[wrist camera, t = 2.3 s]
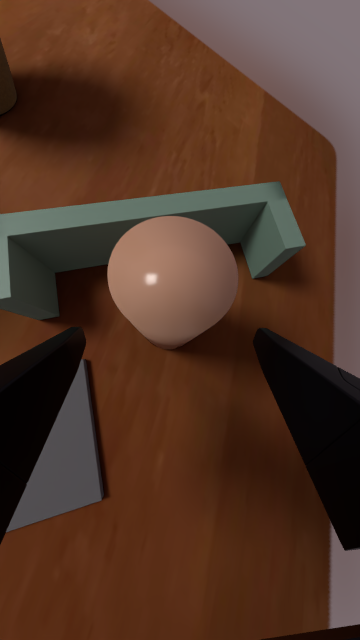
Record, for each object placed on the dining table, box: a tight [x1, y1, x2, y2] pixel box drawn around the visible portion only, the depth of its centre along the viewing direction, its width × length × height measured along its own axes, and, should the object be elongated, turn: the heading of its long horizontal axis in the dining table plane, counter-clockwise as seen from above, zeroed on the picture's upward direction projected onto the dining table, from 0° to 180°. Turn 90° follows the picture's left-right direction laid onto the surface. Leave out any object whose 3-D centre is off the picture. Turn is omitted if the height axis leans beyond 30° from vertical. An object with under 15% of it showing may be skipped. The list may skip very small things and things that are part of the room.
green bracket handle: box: [0, 181, 306, 320], centre depth 18 cm, size 7×26×6 cm, turn 103°
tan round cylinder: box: [107, 216, 238, 349], centre depth 14 cm, size 6×6×12 cm
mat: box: [6, 359, 104, 532], centre depth 16 cm, size 12×12×1 cm
